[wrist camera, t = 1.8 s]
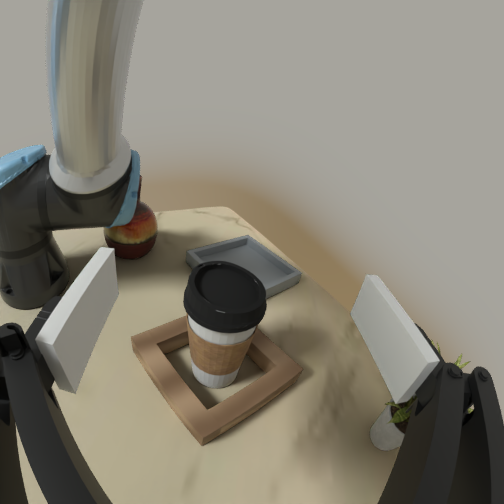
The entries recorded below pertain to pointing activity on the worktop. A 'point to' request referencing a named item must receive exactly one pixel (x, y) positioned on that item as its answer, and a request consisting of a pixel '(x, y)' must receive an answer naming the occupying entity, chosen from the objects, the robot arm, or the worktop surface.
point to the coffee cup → (221, 319)
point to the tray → (249, 262)
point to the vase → (134, 232)
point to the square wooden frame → (183, 399)
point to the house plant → (396, 421)
